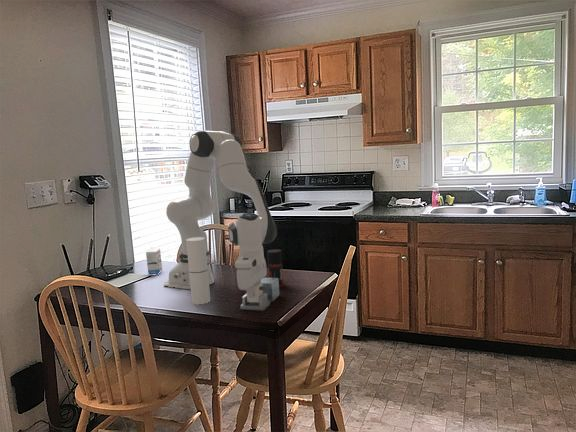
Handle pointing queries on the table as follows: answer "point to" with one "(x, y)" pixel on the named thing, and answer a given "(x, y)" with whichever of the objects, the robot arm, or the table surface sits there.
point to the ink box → (154, 261)
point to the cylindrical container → (198, 270)
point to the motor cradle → (267, 296)
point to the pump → (256, 292)
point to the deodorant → (275, 265)
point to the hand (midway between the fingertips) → (254, 294)
